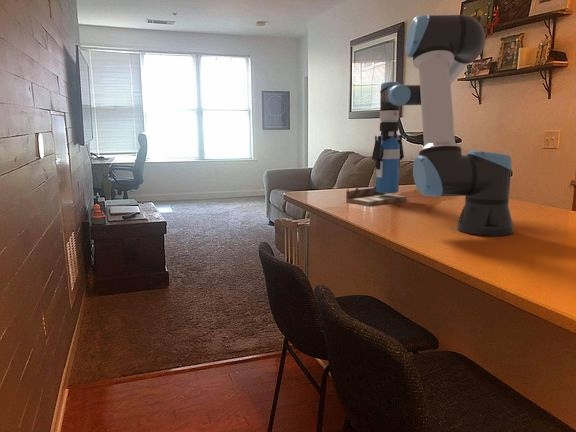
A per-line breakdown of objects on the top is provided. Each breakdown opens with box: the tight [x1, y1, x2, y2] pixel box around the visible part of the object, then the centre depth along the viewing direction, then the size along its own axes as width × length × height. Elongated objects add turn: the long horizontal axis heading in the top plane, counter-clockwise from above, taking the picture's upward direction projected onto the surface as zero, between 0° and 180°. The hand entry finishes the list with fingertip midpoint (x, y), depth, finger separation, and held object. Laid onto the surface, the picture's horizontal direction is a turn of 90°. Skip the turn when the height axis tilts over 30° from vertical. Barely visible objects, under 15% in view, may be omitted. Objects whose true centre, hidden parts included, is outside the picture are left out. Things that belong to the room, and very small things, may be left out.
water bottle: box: [375, 131, 401, 194], centre depth 189 cm, size 9×9×25 cm
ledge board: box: [345, 185, 408, 207], centre depth 189 cm, size 22×13×5 cm, turn 125°
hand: (387, 176), depth 190 cm, fingers closed on water bottle, 9 cm apart
